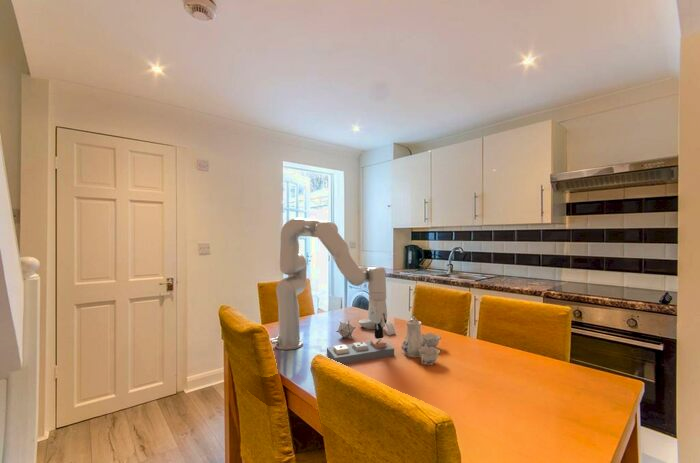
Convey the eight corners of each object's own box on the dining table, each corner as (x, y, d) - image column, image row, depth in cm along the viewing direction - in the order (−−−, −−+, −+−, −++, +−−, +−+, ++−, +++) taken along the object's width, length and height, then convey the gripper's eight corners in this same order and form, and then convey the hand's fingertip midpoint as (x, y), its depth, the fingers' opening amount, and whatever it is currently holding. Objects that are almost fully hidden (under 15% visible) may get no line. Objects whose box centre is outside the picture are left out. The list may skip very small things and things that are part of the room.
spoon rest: (354, 327, 178) (354, 314, 178) (370, 323, 186) (370, 310, 186) (384, 337, 160) (384, 323, 160) (400, 332, 167) (400, 319, 167)
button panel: (335, 365, 127) (335, 357, 127) (326, 354, 138) (326, 347, 138) (394, 355, 136) (394, 348, 136) (381, 346, 147) (381, 339, 147)
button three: (375, 349, 137) (375, 343, 137) (370, 346, 141) (370, 340, 141) (386, 348, 138) (386, 342, 138) (381, 344, 143) (381, 338, 143)
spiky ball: (349, 346, 159) (355, 333, 154) (333, 340, 159) (338, 326, 154) (352, 332, 166) (358, 319, 161) (337, 326, 167) (342, 313, 161)
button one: (337, 355, 131) (337, 349, 131) (333, 351, 135) (333, 345, 135) (348, 354, 132) (348, 347, 132) (344, 350, 137) (344, 344, 137)
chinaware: (443, 373, 121) (447, 330, 121) (399, 366, 125) (402, 323, 124) (438, 347, 149) (441, 311, 148) (401, 342, 152) (404, 307, 152)
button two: (356, 352, 134) (356, 346, 134) (352, 348, 138) (352, 342, 138) (368, 351, 135) (367, 345, 135) (363, 347, 140) (363, 341, 140)
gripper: (363, 293, 146) (364, 334, 145) (376, 299, 132) (378, 344, 131) (378, 292, 148) (379, 332, 148) (393, 297, 134) (394, 341, 134)
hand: (378, 337), depth 140 cm, fingers closed
